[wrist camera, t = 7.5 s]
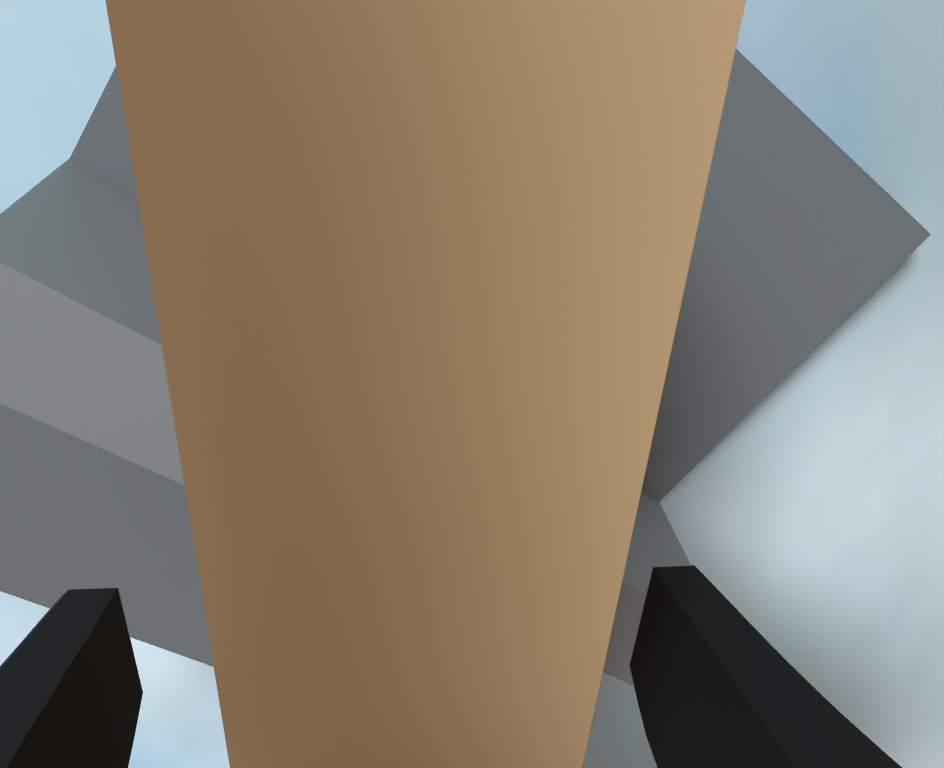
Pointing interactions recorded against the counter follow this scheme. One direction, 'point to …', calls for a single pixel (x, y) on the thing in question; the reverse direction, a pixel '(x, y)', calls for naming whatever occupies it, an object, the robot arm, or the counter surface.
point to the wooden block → (416, 346)
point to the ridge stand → (147, 393)
